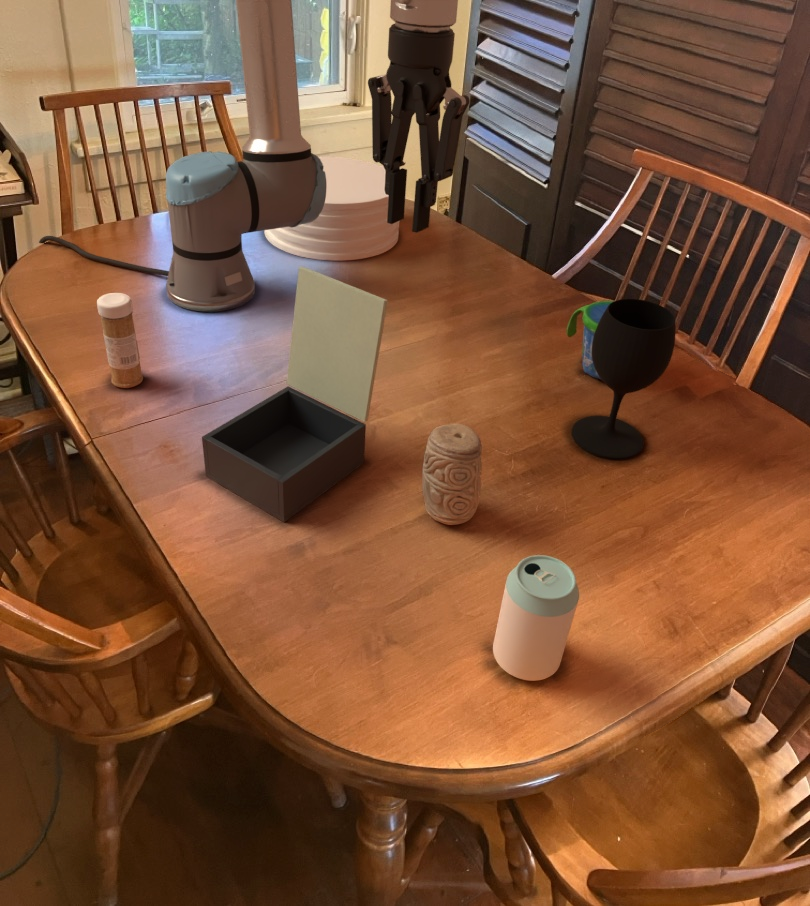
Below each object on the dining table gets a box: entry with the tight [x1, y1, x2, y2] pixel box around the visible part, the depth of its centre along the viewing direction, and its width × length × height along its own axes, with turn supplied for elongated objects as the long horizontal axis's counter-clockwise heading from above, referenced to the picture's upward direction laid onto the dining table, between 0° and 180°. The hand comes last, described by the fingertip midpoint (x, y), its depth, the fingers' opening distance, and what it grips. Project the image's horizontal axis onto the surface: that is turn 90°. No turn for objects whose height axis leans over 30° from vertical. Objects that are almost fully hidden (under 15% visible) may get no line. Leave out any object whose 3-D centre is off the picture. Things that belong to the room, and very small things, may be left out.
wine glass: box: [571, 298, 677, 461], centre depth 110 cm, size 10×10×20 cm
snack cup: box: [566, 300, 615, 382], centre depth 128 cm, size 16×10×10 cm
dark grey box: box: [201, 385, 367, 523], centre depth 103 cm, size 16×14×6 cm
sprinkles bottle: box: [96, 292, 144, 389], centre depth 115 cm, size 5×5×14 cm
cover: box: [286, 265, 388, 423], centre depth 102 cm, size 16×14×1 cm
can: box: [492, 554, 580, 682], centre depth 80 cm, size 7×7×12 cm
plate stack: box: [263, 156, 400, 262], centre depth 165 cm, size 28×28×12 cm
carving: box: [421, 422, 483, 526], centre depth 97 cm, size 6×8×12 cm
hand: (407, 224), depth 105 cm, fingers open, 3 cm apart
